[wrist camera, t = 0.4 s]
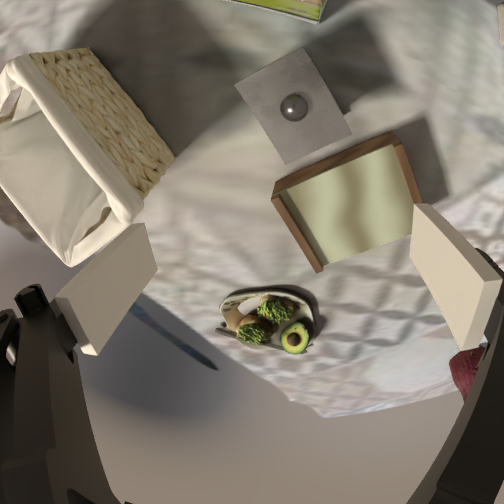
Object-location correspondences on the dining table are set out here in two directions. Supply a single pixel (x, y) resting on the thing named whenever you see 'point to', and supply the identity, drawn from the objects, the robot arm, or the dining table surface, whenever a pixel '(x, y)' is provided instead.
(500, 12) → the soap bottle
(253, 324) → the salad plate
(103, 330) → the robot arm
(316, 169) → the stand
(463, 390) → the vegetable
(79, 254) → the storage basket
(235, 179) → the dining table surface
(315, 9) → the tea box
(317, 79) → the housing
